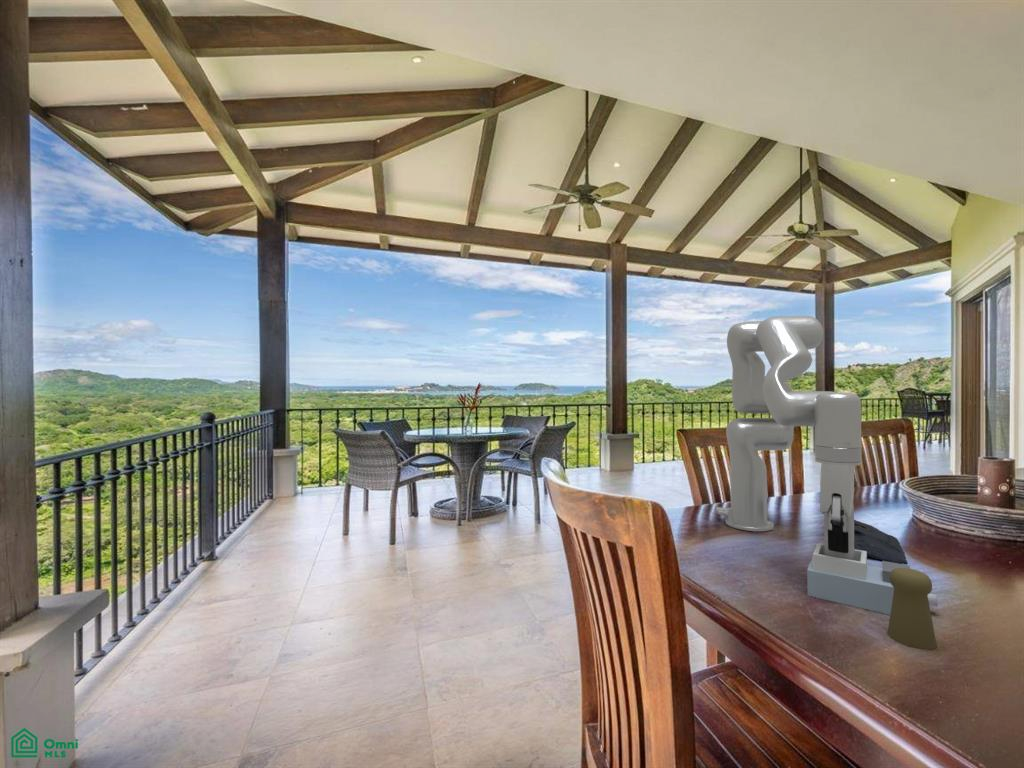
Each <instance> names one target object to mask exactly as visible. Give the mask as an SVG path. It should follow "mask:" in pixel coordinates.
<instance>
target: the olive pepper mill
mask: <svg viewBox="0 0 1024 768" xmlns="http://www.w3.org/2000/svg"><path fill="white" fill-rule="evenodd" d="M890 582H891V585H892V586H893V587H894V594H893V600H892V607H891V613H890V615H889V619H888V620H889V621H888V628H887V635H888V636H890V637H889V638H890V639H892V640H893V639H894V640H893V641H895V642H897V643H899V644H901V643H902V644H901V645H905V646H906V645H907V646H906V647H910V648H914V649H918V650H934V649H936V648H937V647H938V646H937V645H938V644H937V639H936V634H935V629H934V623H933V618H932V612H931V607H930V606H931V605H929V601H928V594H929V593H931V594H932V590H933V583H932V579H931V577H929V575H927V574H926V573H924V572H922V571H920V570H917V569H913V568H910V569H909V568H895V569H893V570H892V571H891V573H890Z"/></svg>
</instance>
